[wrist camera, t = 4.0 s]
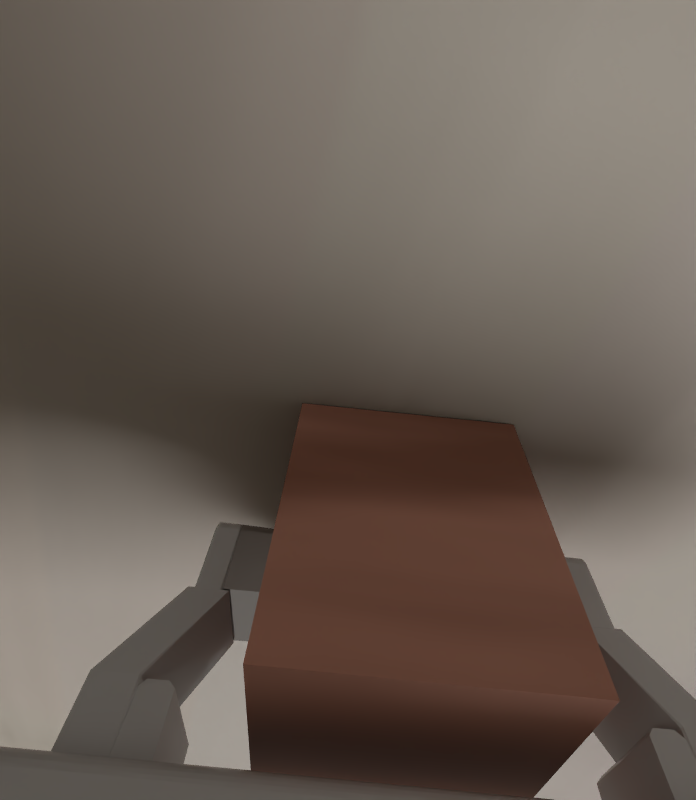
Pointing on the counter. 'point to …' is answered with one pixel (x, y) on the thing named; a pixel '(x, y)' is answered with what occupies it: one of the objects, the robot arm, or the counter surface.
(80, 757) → the robot arm
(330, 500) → the reddish brown cube
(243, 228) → the counter surface
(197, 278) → the counter surface
